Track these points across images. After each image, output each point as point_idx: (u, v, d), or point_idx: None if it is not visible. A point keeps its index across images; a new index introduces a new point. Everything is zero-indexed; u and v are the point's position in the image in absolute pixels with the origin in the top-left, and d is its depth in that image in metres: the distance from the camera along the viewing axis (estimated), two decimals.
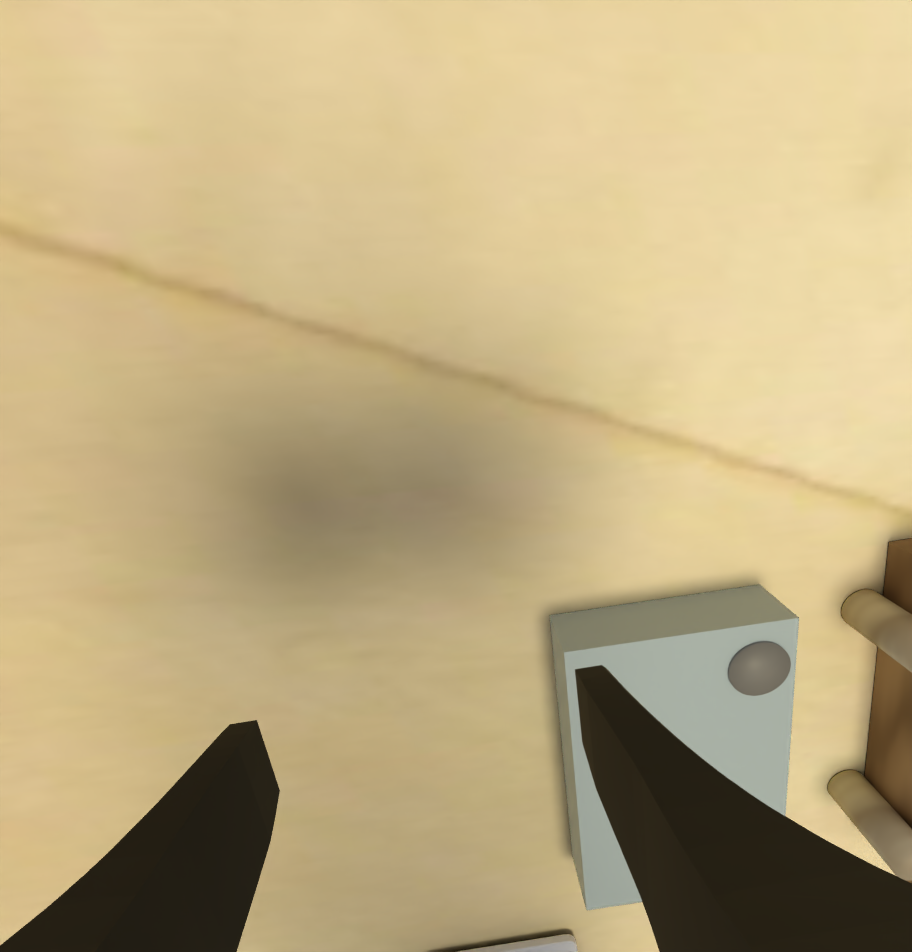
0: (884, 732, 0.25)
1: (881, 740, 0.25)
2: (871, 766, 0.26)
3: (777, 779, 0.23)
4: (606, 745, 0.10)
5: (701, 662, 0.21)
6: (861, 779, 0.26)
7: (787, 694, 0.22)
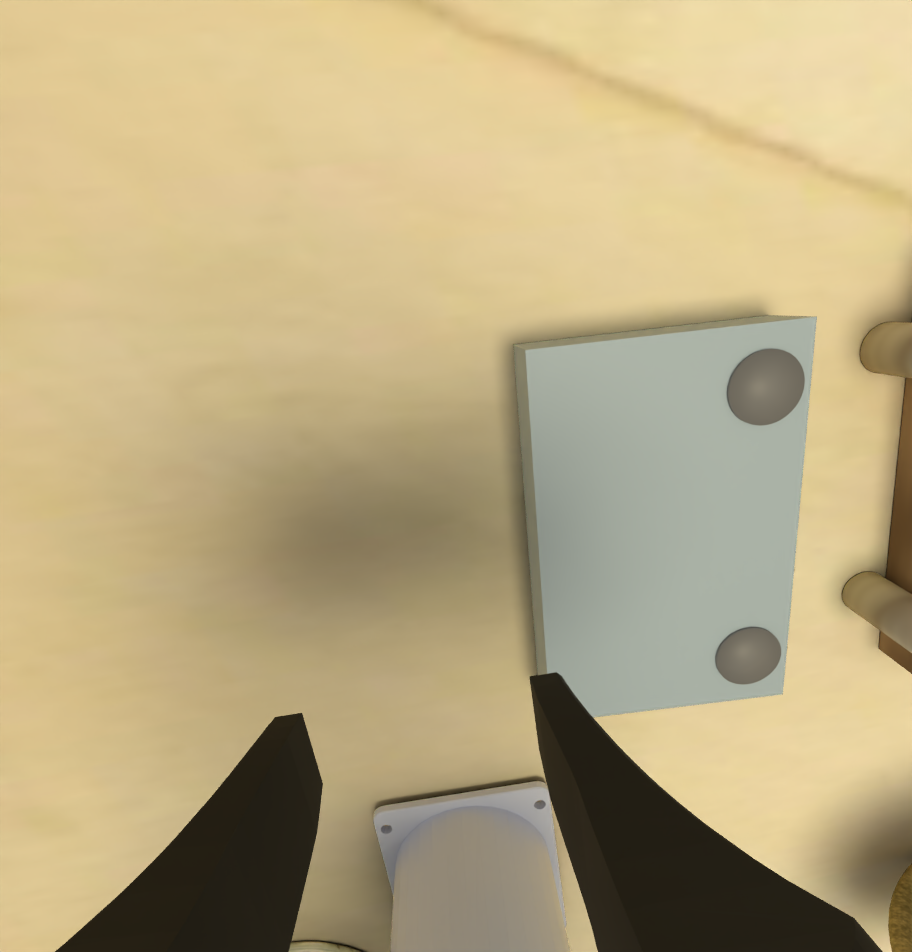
0: (911, 510, 0.21)
1: (907, 523, 0.21)
2: (894, 564, 0.22)
3: (783, 551, 0.19)
4: (553, 755, 0.10)
5: (694, 376, 0.17)
6: (883, 578, 0.22)
7: (799, 428, 0.18)
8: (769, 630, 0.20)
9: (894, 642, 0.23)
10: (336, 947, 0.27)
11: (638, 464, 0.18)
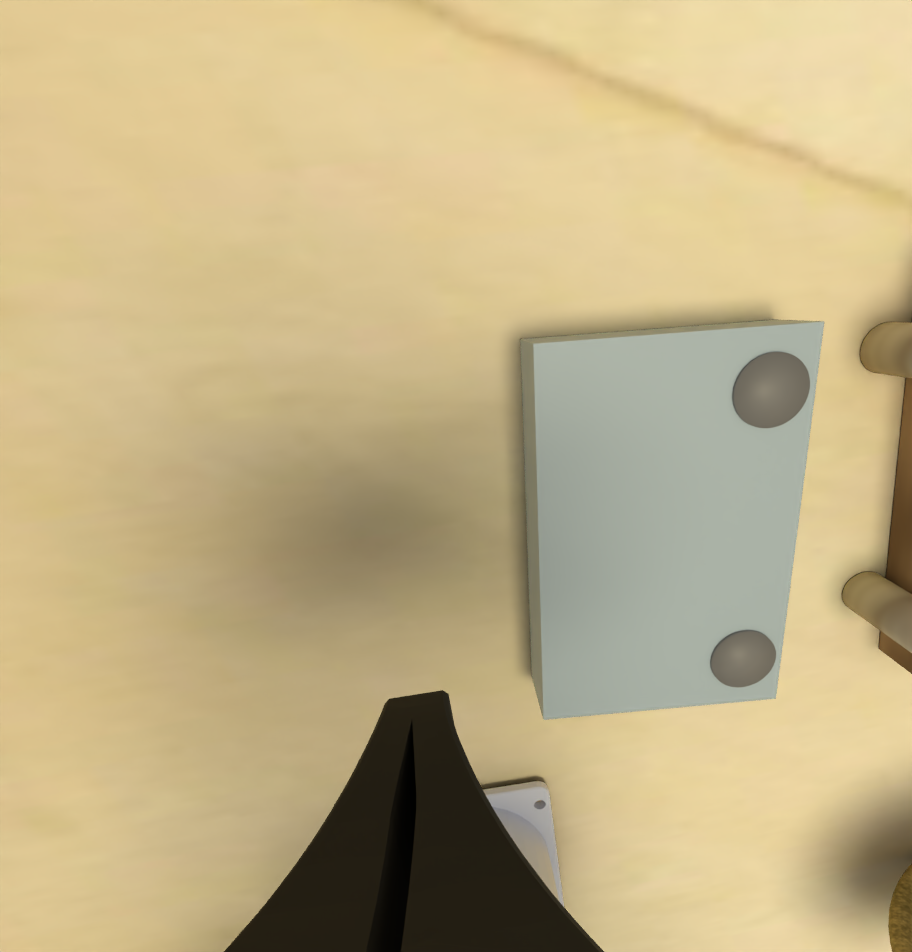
0: (911, 510, 0.21)
1: (907, 523, 0.21)
2: (894, 564, 0.22)
3: (781, 554, 0.19)
4: None
5: (701, 376, 0.17)
6: (883, 578, 0.22)
7: (802, 432, 0.18)
8: (765, 634, 0.20)
9: (894, 642, 0.23)
10: None
11: (641, 462, 0.18)
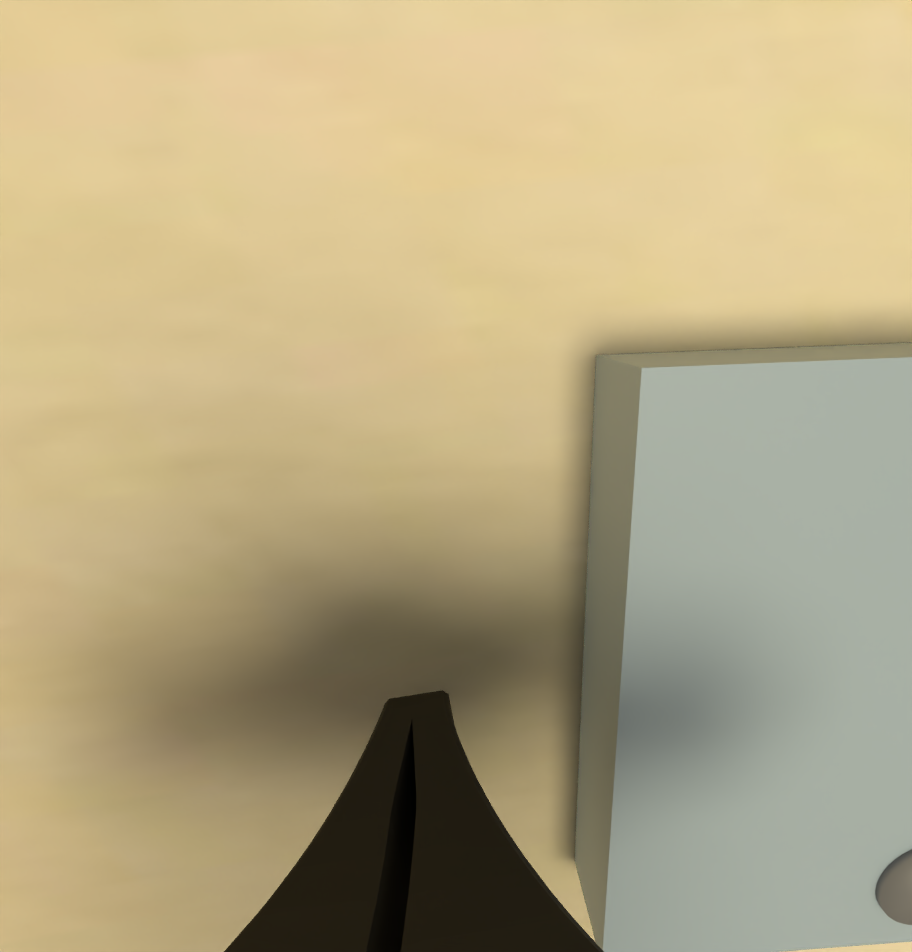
0: None
1: None
2: None
3: None
4: None
5: None
6: None
7: None
8: None
9: None
10: None
11: (810, 583, 0.10)
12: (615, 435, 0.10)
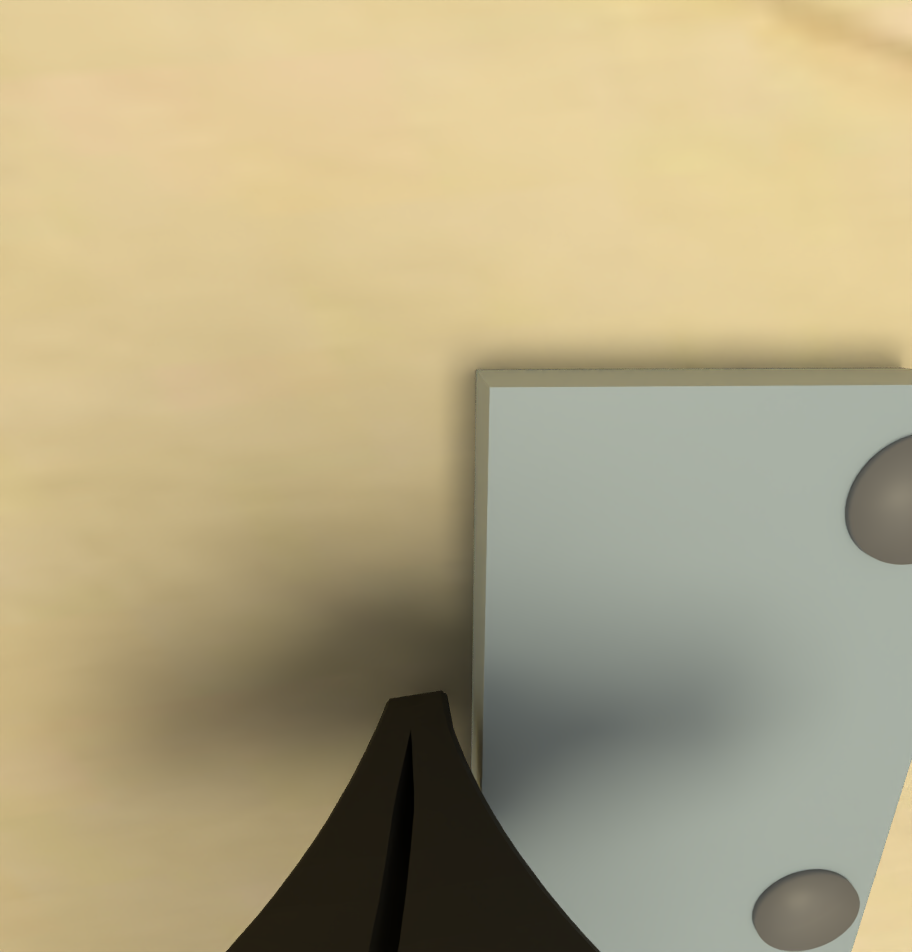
0: None
1: None
2: None
3: (890, 762, 0.11)
4: None
5: (794, 467, 0.09)
6: None
7: None
8: (845, 876, 0.12)
9: None
10: None
11: (673, 609, 0.10)
12: (482, 453, 0.10)
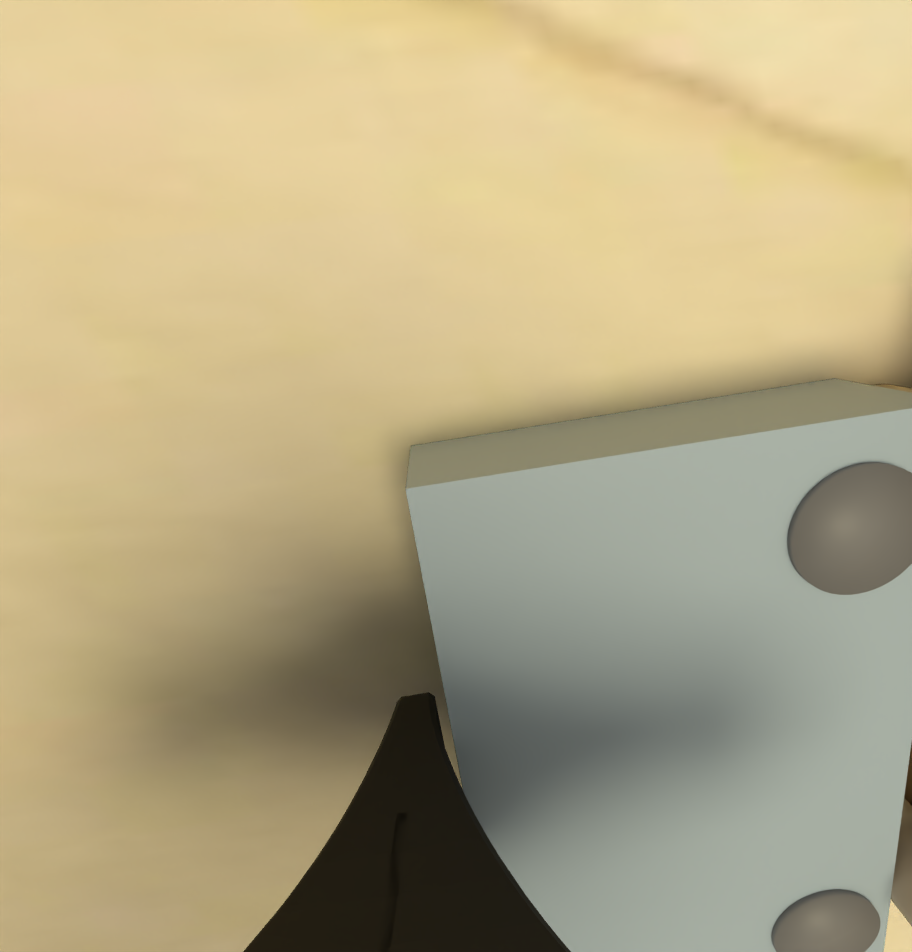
0: None
1: None
2: None
3: (885, 781, 0.11)
4: None
5: (727, 516, 0.09)
6: None
7: None
8: (860, 893, 0.12)
9: None
10: None
11: (630, 665, 0.10)
12: None
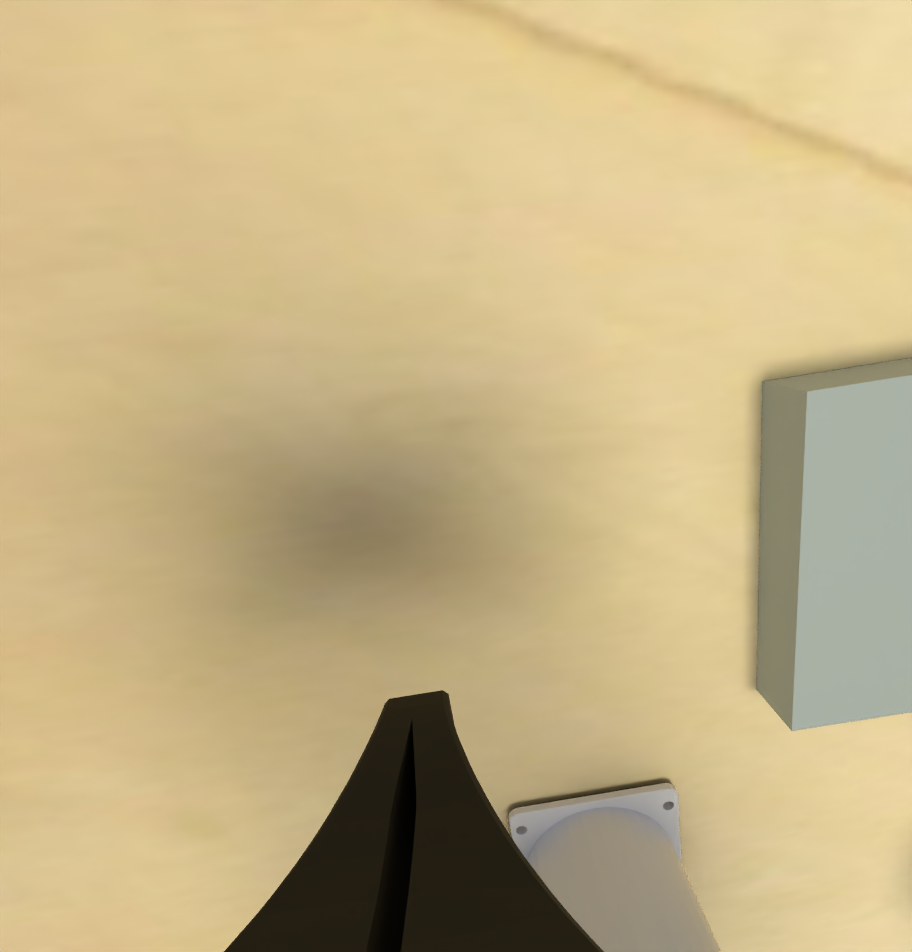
0: None
1: None
2: None
3: None
4: None
5: None
6: None
7: None
8: None
9: None
10: None
11: (899, 490, 0.19)
12: (785, 424, 0.19)
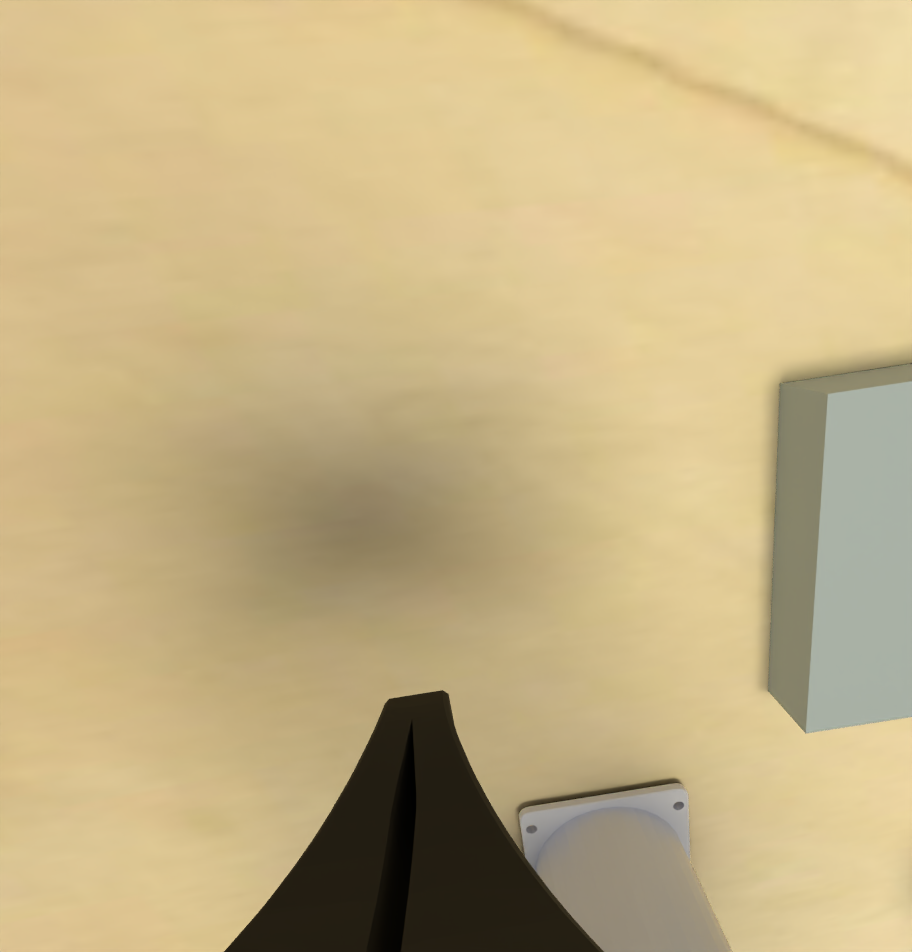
0: None
1: None
2: None
3: None
4: None
5: None
6: None
7: None
8: None
9: None
10: None
11: None
12: (804, 427, 0.19)
